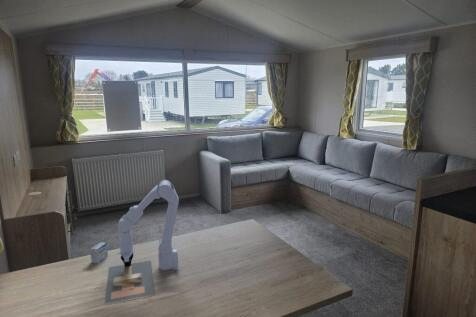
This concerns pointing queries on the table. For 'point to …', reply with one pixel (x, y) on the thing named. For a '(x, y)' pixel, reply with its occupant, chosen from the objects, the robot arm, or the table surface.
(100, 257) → the medicine box
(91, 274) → the table surface
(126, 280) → the t block
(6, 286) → the table surface
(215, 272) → the table surface
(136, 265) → the mat
